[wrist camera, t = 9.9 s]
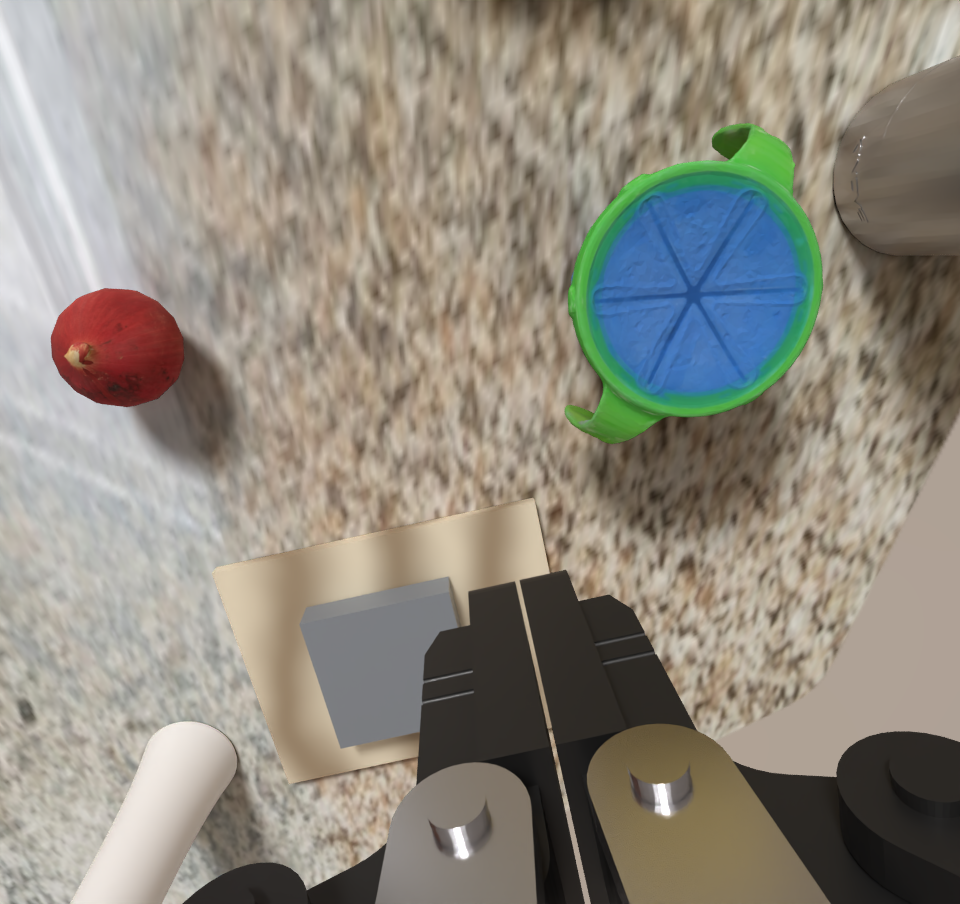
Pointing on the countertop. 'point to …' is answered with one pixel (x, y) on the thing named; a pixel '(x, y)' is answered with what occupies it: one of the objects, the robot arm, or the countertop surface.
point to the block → (377, 656)
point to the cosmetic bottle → (160, 815)
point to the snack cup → (695, 287)
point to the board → (354, 572)
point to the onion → (117, 347)
